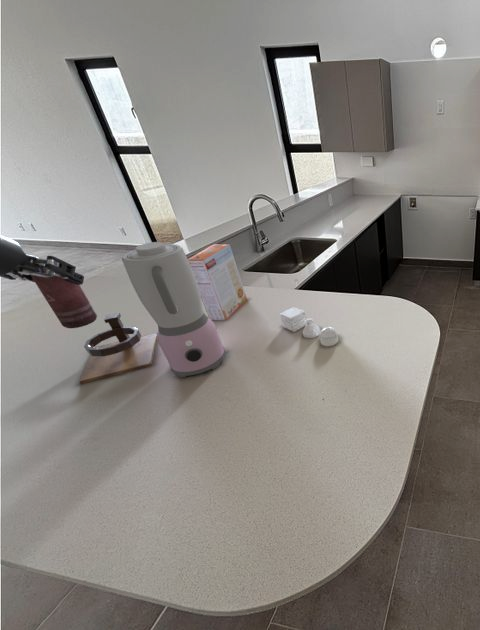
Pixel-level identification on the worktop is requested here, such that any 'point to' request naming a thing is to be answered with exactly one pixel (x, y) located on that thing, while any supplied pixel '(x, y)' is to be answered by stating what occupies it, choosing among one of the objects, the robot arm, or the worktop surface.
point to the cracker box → (218, 281)
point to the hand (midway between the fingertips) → (65, 281)
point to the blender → (175, 307)
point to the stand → (118, 351)
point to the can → (66, 301)
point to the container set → (308, 326)
